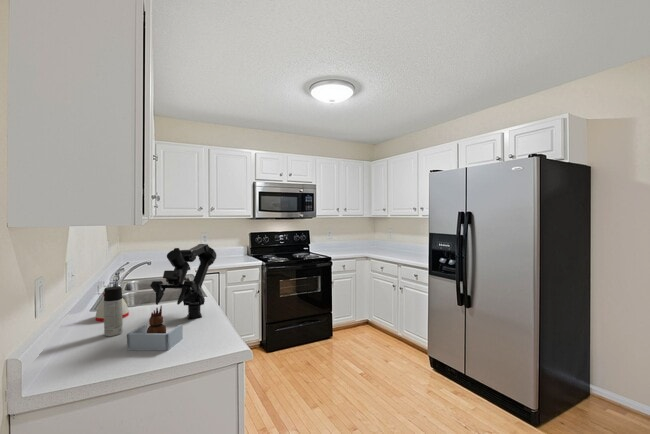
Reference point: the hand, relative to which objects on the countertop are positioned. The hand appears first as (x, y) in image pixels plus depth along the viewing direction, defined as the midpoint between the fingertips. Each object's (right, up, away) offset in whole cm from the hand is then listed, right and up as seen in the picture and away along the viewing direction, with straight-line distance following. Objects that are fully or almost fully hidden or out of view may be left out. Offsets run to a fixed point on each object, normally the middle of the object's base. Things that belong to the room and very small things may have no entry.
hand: (167, 304), depth 135 cm
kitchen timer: (-41, -14, +27) cm, 51 cm away
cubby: (0, -14, -8) cm, 16 cm away
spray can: (-25, -14, +3) cm, 29 cm away
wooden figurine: (0, -14, -8) cm, 16 cm away
